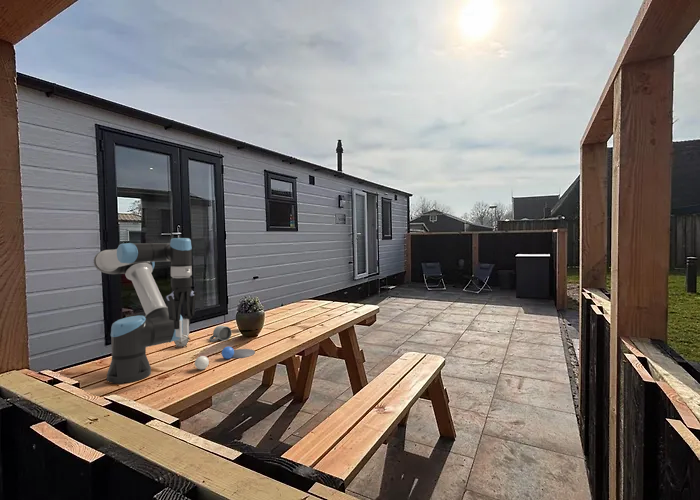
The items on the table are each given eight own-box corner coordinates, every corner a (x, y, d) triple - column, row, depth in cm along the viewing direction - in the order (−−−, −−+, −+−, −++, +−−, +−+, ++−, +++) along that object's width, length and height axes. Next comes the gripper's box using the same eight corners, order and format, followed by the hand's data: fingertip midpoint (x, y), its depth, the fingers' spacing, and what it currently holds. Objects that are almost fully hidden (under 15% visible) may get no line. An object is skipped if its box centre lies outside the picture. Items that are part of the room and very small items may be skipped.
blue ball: (222, 361, 161) (222, 349, 161) (220, 357, 166) (220, 346, 166) (235, 359, 164) (234, 347, 164) (233, 356, 169) (233, 344, 169)
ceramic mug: (224, 336, 204) (224, 323, 203) (232, 339, 198) (231, 325, 198) (206, 340, 196) (206, 327, 196) (213, 343, 190) (213, 329, 190)
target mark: (227, 360, 163) (227, 359, 163) (222, 351, 175) (222, 351, 175) (258, 355, 169) (258, 355, 169) (251, 347, 182) (251, 347, 182)
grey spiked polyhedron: (182, 355, 182) (181, 342, 177) (169, 348, 184) (166, 335, 178) (195, 342, 190) (193, 330, 184) (181, 336, 191) (179, 323, 185)
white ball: (195, 372, 148) (195, 359, 148) (194, 368, 153) (194, 355, 153) (209, 370, 150) (209, 357, 150) (208, 366, 155) (208, 353, 155)
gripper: (170, 279, 133) (171, 342, 134) (204, 275, 147) (204, 332, 148) (157, 278, 136) (158, 339, 137) (190, 274, 151) (191, 330, 151)
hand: (182, 335), depth 143 cm, fingers open, 3 cm apart
